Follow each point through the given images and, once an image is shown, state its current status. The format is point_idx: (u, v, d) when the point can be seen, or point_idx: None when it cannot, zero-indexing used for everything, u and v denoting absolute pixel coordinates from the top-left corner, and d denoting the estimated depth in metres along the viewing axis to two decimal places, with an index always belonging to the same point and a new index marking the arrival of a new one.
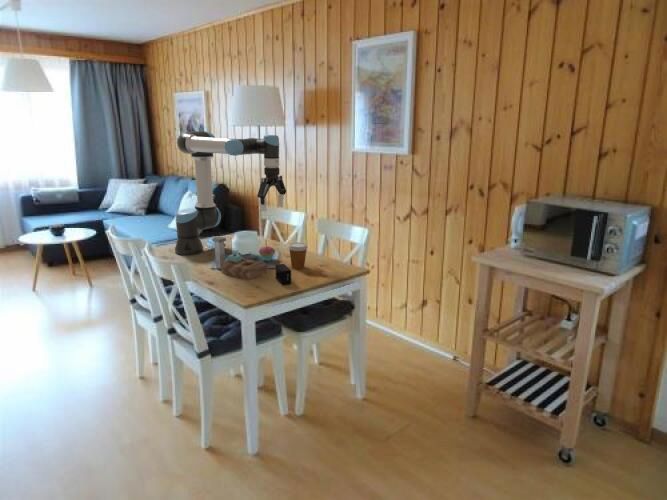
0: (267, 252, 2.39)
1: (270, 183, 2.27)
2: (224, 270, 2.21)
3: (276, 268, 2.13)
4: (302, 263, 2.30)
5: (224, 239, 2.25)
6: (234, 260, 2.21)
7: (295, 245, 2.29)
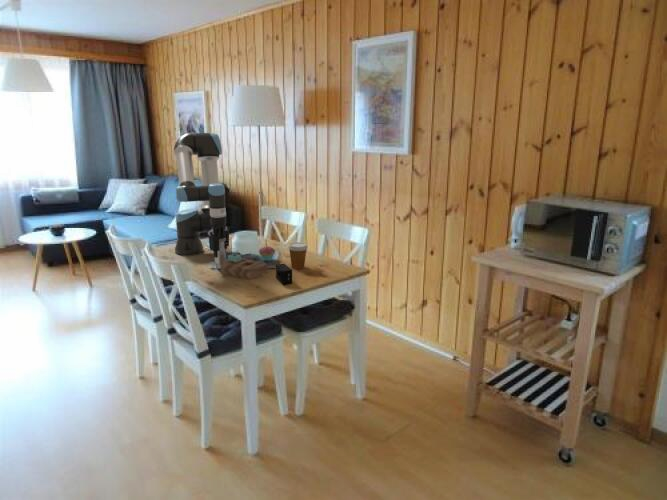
0: (267, 252, 2.39)
1: (217, 234, 2.22)
2: (224, 270, 2.21)
3: (277, 268, 2.13)
4: (302, 263, 2.30)
5: (224, 239, 2.25)
6: (234, 260, 2.21)
7: (295, 245, 2.29)
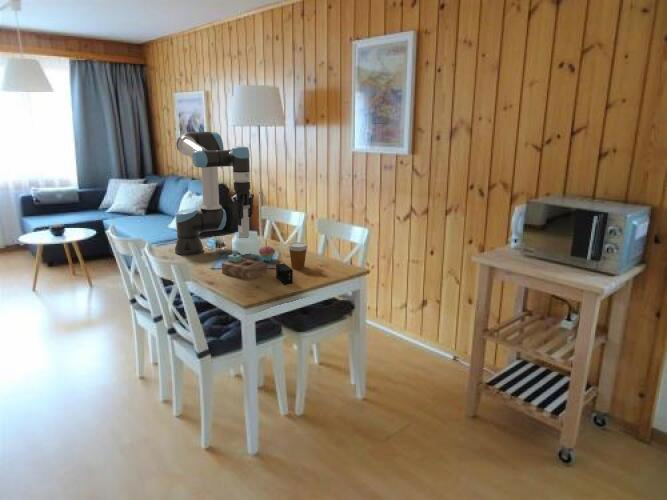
0: (267, 252, 2.39)
1: (241, 200, 2.09)
2: (224, 270, 2.21)
3: (277, 268, 2.14)
4: (302, 263, 2.30)
5: (248, 206, 2.13)
6: (234, 260, 2.21)
7: (295, 245, 2.29)
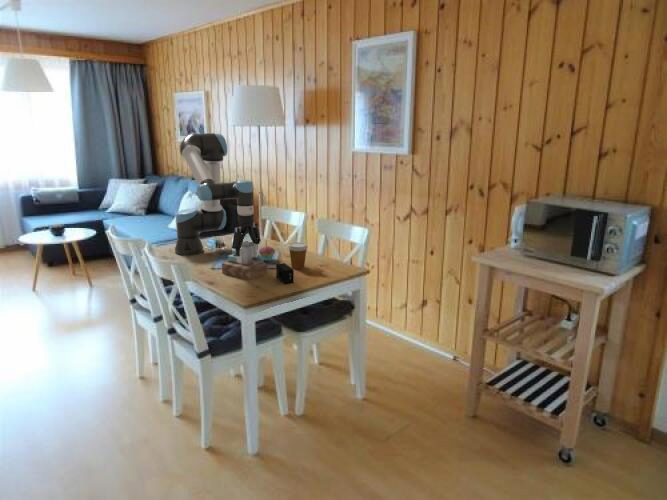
0: (267, 252, 2.39)
1: (244, 232, 2.12)
2: (224, 270, 2.21)
3: (277, 268, 2.14)
4: (302, 263, 2.30)
5: (252, 244, 2.17)
6: (234, 260, 2.21)
7: (295, 245, 2.29)
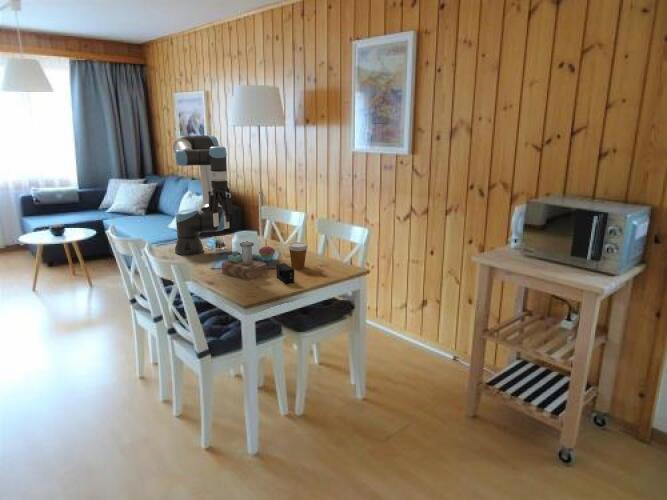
0: (267, 252, 2.39)
1: (213, 197, 2.20)
2: (224, 270, 2.21)
3: (277, 267, 2.14)
4: (302, 263, 2.30)
5: (252, 244, 2.17)
6: (234, 260, 2.21)
7: (295, 245, 2.29)
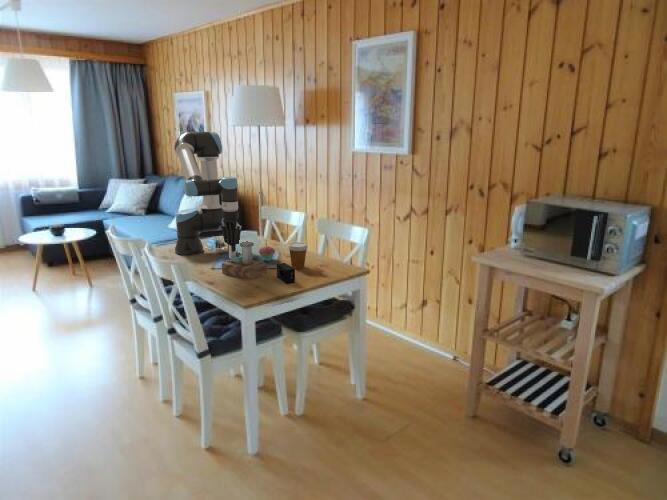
0: (267, 252, 2.39)
1: (225, 227, 2.20)
2: (224, 270, 2.21)
3: (278, 267, 2.14)
4: (302, 263, 2.30)
5: (252, 244, 2.17)
6: (237, 261, 2.21)
7: (295, 245, 2.29)
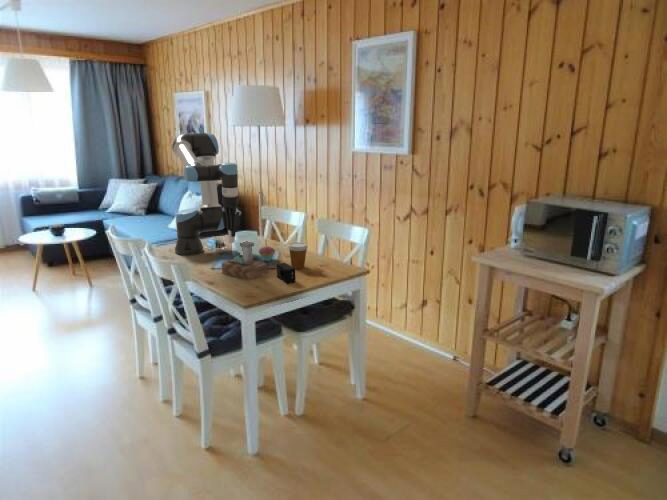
0: (267, 252, 2.39)
1: (225, 213, 2.23)
2: (224, 270, 2.21)
3: (278, 267, 2.15)
4: (302, 263, 2.30)
5: (252, 244, 2.17)
6: (240, 261, 2.19)
7: (295, 245, 2.29)
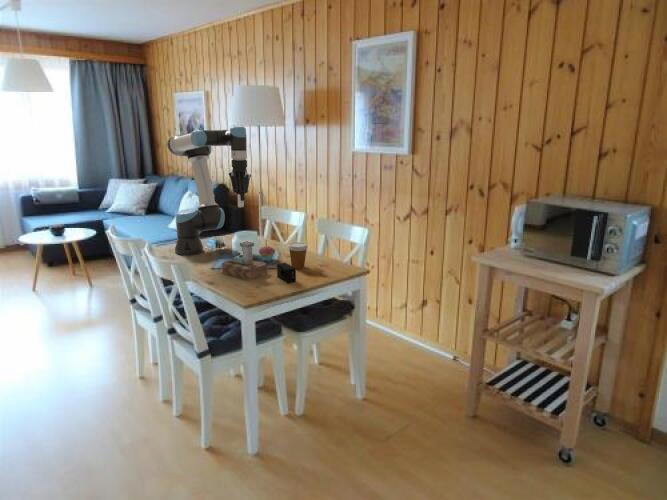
0: (267, 252, 2.39)
1: (234, 177, 2.26)
2: (224, 270, 2.21)
3: (278, 267, 2.15)
4: (302, 263, 2.30)
5: (252, 244, 2.17)
6: (240, 261, 2.19)
7: (295, 245, 2.29)
